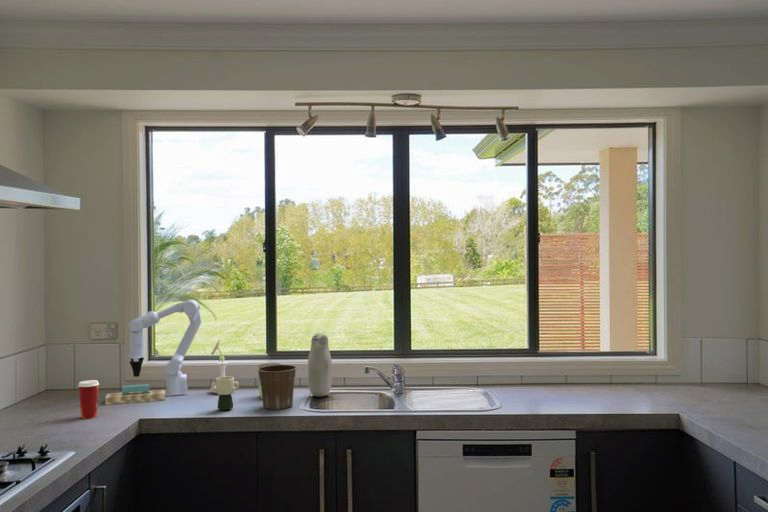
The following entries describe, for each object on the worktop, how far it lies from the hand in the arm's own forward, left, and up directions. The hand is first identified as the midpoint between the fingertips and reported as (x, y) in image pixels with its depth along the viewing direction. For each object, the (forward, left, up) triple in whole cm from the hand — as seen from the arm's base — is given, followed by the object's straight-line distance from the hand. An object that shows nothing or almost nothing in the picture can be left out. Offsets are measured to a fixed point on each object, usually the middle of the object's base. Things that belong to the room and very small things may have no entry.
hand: (137, 375), depth 294 cm
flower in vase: (-37, +8, -10) cm, 39 cm away
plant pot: (-57, +45, -10) cm, 73 cm away
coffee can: (-57, +24, -10) cm, 63 cm away
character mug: (-36, +43, -10) cm, 57 cm away
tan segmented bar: (0, +10, -9) cm, 14 cm away
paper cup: (+16, +36, -10) cm, 41 cm away
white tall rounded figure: (-78, +32, -10) cm, 85 cm away
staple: (0, +10, -9) cm, 14 cm away
